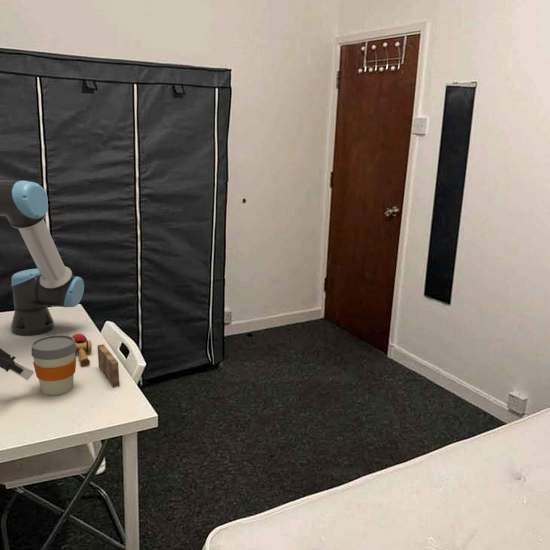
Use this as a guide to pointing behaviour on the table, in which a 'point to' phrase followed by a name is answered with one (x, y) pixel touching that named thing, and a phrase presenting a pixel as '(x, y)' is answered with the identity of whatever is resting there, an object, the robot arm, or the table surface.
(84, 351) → the kendama
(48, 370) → the reusable coffee cup
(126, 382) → the table surface
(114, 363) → the board
